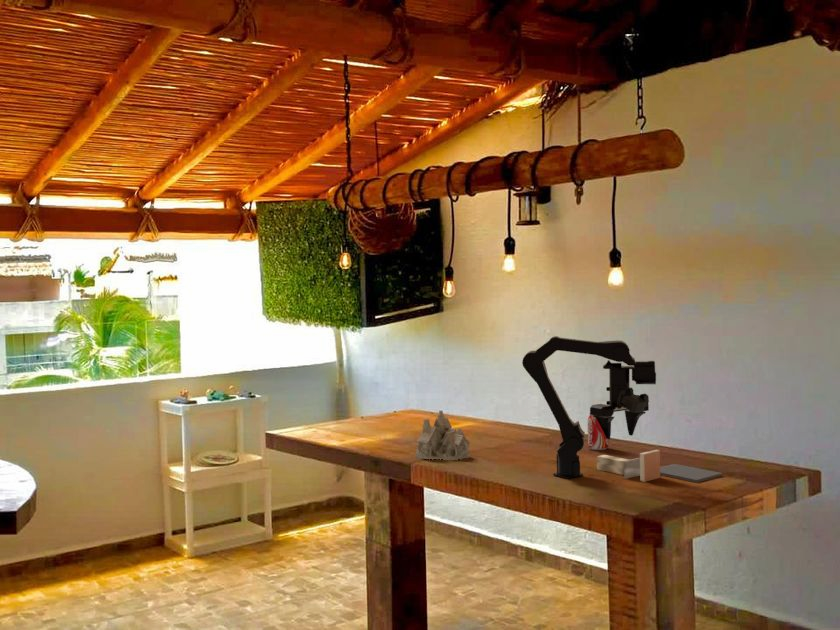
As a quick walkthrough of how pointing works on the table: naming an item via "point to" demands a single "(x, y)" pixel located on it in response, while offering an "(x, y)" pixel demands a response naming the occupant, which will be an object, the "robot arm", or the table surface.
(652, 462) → the tile
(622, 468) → the cream saddle block
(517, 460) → the table surface
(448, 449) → the ceramic cottage
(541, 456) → the table surface
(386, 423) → the table surface
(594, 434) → the soda can
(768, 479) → the table surface
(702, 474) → the tool mat
